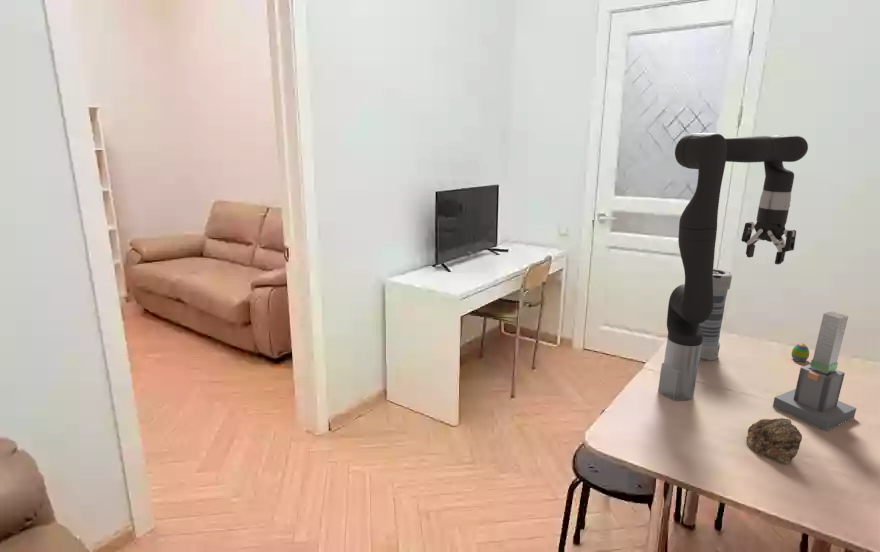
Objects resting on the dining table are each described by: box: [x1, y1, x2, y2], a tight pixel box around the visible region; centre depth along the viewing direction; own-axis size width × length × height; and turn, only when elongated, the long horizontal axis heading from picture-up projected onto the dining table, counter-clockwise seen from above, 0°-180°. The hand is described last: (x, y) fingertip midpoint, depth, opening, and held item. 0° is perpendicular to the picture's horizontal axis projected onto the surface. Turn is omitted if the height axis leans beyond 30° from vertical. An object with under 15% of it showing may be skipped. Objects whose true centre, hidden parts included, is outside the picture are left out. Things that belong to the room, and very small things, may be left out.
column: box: [810, 311, 849, 376], centre depth 144 cm, size 4×4×20 cm
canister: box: [699, 267, 733, 361], centre depth 180 cm, size 10×10×30 cm
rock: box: [745, 417, 803, 465], centre depth 132 cm, size 14×9×10 cm
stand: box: [772, 363, 857, 432], centre depth 147 cm, size 14×14×13 cm
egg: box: [791, 342, 810, 363], centre depth 180 cm, size 5×5×6 cm
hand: (763, 260), depth 159 cm, fingers open, 8 cm apart
